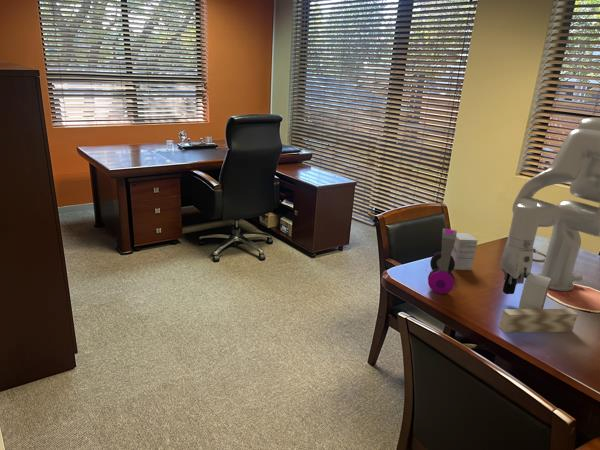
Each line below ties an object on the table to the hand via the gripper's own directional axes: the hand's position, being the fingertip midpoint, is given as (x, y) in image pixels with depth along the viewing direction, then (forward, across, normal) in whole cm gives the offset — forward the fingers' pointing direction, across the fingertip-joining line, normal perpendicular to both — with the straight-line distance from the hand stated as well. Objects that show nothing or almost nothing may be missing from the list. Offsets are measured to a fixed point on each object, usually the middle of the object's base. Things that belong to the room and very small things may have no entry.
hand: (508, 292), depth 148 cm
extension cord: (+4, +40, -36) cm, 54 cm away
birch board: (+3, -17, 0) cm, 17 cm away
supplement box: (+4, +28, +3) cm, 28 cm away
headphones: (+3, +14, +17) cm, 23 cm away
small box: (+4, -9, -2) cm, 10 cm away
